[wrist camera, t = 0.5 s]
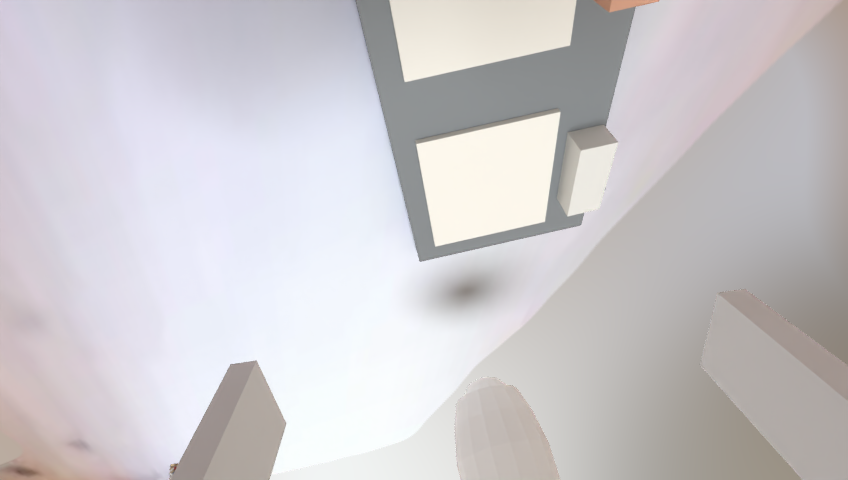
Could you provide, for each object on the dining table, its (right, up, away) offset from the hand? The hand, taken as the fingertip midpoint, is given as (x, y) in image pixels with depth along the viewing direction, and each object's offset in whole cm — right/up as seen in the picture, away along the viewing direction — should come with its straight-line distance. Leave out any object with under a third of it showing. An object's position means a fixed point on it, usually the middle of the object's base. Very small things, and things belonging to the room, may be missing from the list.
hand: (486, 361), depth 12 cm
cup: (+2, -2, +29) cm, 29 cm away
